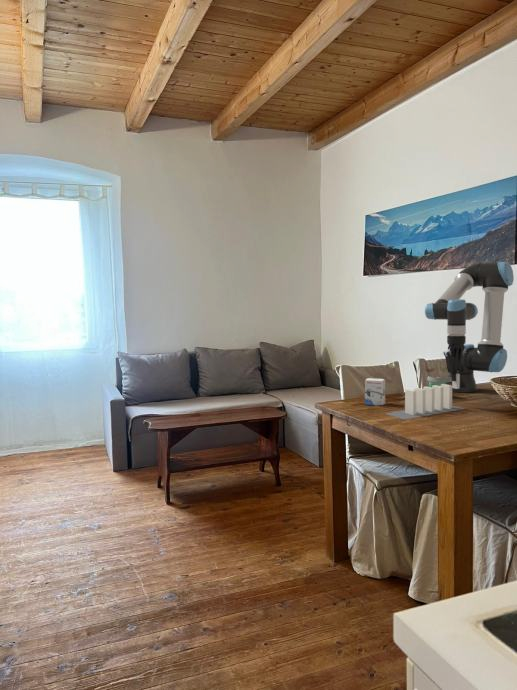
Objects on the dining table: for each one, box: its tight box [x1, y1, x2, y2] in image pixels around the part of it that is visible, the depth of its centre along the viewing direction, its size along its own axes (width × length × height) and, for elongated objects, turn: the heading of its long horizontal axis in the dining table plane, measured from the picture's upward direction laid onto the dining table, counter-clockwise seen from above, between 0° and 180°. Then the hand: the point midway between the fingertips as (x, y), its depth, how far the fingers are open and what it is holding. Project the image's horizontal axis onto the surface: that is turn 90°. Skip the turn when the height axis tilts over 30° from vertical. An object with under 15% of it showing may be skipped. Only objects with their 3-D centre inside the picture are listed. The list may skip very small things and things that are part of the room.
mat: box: [384, 404, 466, 421], centre depth 224 cm, size 34×12×1 cm, turn 115°
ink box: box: [364, 377, 386, 406], centre depth 242 cm, size 9×5×12 cm, turn 65°
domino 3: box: [422, 386, 435, 412], centre depth 224 cm, size 2×5×10 cm, turn 26°
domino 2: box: [413, 387, 426, 413], centre depth 222 cm, size 2×5×10 cm, turn 25°
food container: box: [426, 374, 452, 388], centre depth 252 cm, size 12×6×10 cm, turn 42°
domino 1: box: [404, 388, 416, 415], centre depth 220 cm, size 2×5×10 cm, turn 25°
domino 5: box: [441, 384, 453, 409], centre depth 228 cm, size 2×5×10 cm, turn 25°
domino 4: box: [432, 385, 443, 410], centre depth 226 cm, size 2×5×10 cm, turn 25°
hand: (455, 388), depth 230 cm, fingers closed
